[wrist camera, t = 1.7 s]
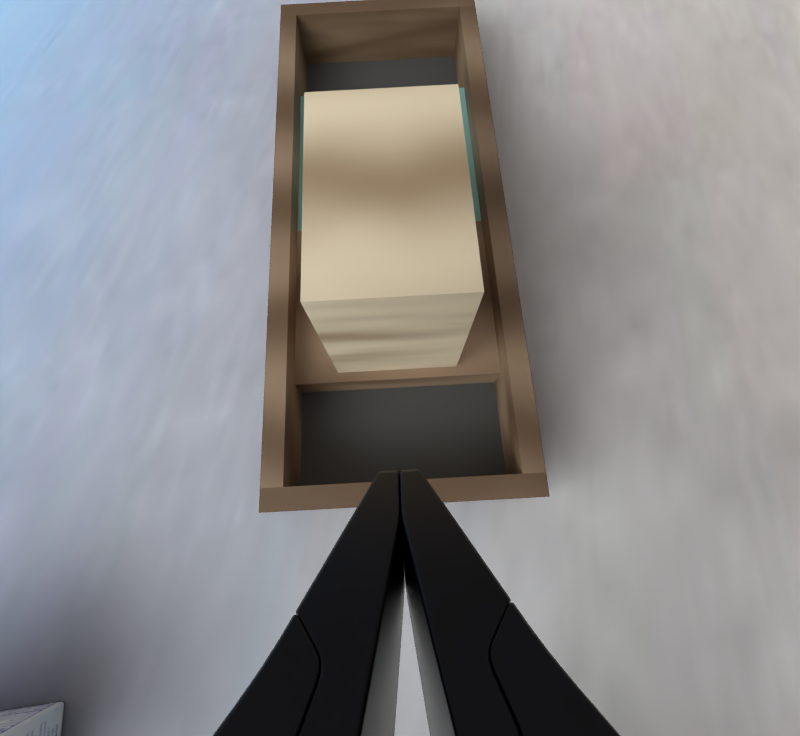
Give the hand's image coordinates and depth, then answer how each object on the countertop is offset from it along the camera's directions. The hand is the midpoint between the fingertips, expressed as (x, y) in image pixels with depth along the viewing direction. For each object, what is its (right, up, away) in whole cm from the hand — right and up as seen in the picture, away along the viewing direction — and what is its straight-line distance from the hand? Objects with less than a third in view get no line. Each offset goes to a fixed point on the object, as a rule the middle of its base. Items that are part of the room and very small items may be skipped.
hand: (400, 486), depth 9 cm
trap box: (-1, +10, +17) cm, 20 cm away
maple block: (0, +7, +14) cm, 16 cm away
